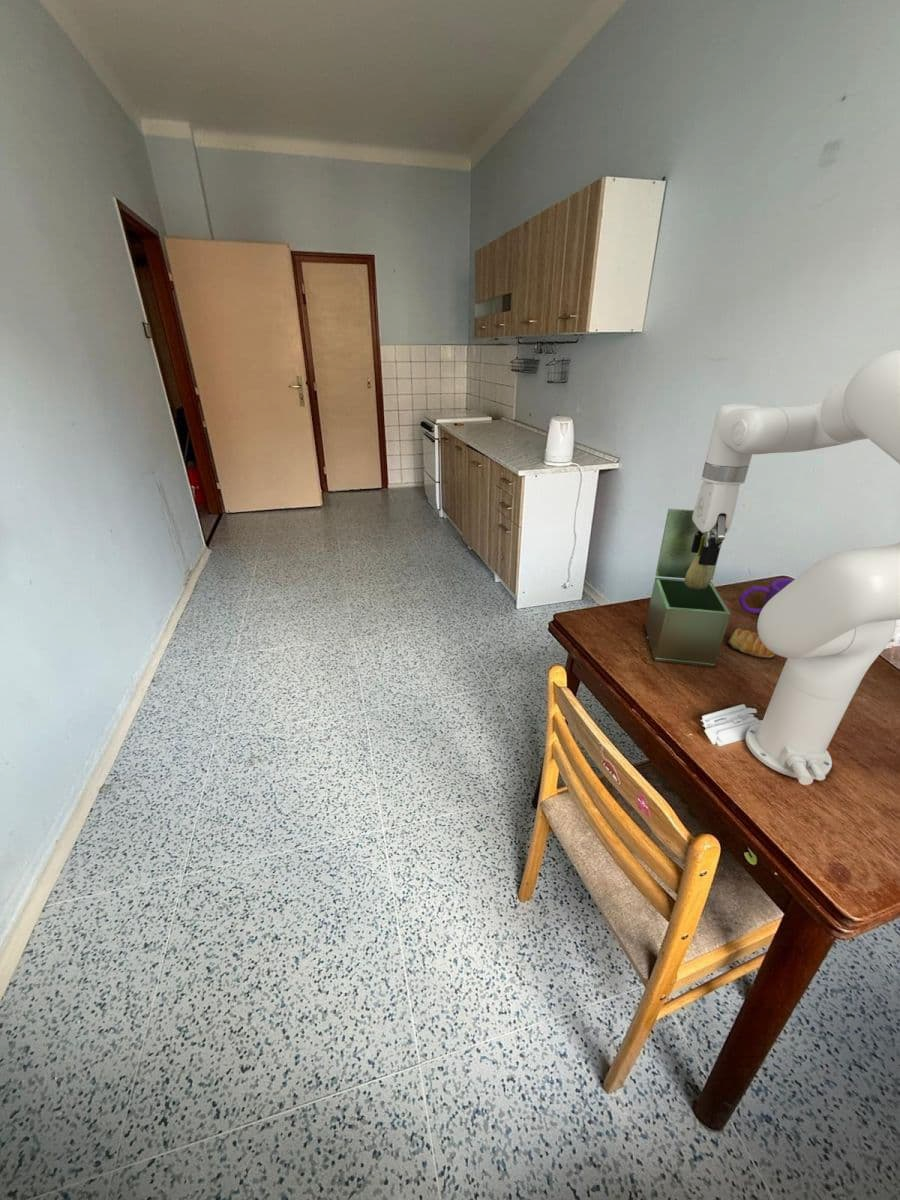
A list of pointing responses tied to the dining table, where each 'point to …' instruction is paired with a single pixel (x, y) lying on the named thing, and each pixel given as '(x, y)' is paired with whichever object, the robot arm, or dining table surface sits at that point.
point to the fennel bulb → (698, 571)
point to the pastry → (749, 643)
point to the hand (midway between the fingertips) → (702, 557)
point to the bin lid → (678, 545)
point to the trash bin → (686, 623)
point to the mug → (771, 591)
